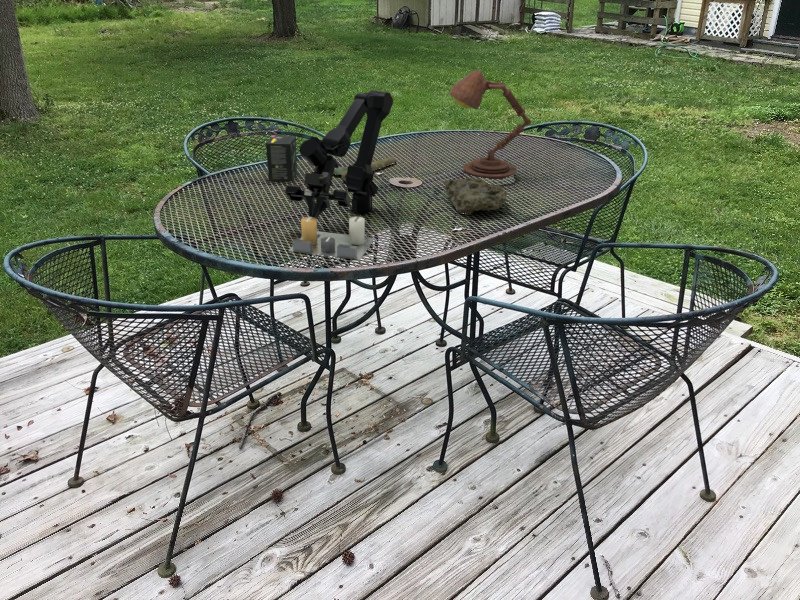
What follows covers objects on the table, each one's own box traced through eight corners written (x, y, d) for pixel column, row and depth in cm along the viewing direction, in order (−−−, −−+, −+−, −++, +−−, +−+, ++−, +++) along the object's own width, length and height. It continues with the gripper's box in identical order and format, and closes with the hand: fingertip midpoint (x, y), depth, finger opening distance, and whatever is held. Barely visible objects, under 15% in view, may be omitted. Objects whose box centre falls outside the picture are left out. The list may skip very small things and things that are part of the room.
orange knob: (305, 238, 190) (304, 215, 187) (319, 240, 189) (318, 217, 186) (299, 244, 186) (298, 220, 183) (314, 246, 185) (313, 222, 182)
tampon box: (274, 172, 250) (271, 134, 243) (297, 173, 250) (296, 135, 243) (267, 181, 240) (265, 142, 233) (292, 182, 240) (290, 143, 233)
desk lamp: (438, 170, 258) (444, 65, 239) (514, 168, 264) (526, 65, 245) (451, 187, 240) (459, 75, 221) (533, 185, 246) (547, 74, 227)
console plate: (307, 233, 197) (307, 220, 195) (374, 241, 193) (374, 228, 191) (288, 254, 183) (287, 240, 181) (359, 263, 180) (359, 249, 178)
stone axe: (395, 153, 265) (396, 167, 237) (396, 165, 267) (397, 180, 239) (332, 157, 266) (325, 172, 238) (334, 170, 268) (327, 186, 240)
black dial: (323, 246, 186) (323, 235, 185) (337, 247, 186) (336, 237, 184) (319, 251, 183) (318, 241, 182) (332, 253, 182) (332, 242, 181)
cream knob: (351, 238, 191) (351, 215, 188) (366, 239, 191) (366, 216, 187) (347, 243, 188) (347, 220, 184) (362, 245, 187) (362, 222, 183)
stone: (441, 195, 232) (442, 173, 228) (492, 193, 236) (494, 171, 232) (460, 221, 211) (462, 196, 207) (516, 218, 214) (519, 194, 210)
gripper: (285, 157, 186) (272, 206, 181) (347, 163, 182) (335, 213, 178) (296, 176, 196) (284, 223, 192) (355, 182, 193) (344, 230, 189)
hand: (311, 222), depth 187 cm, fingers closed
